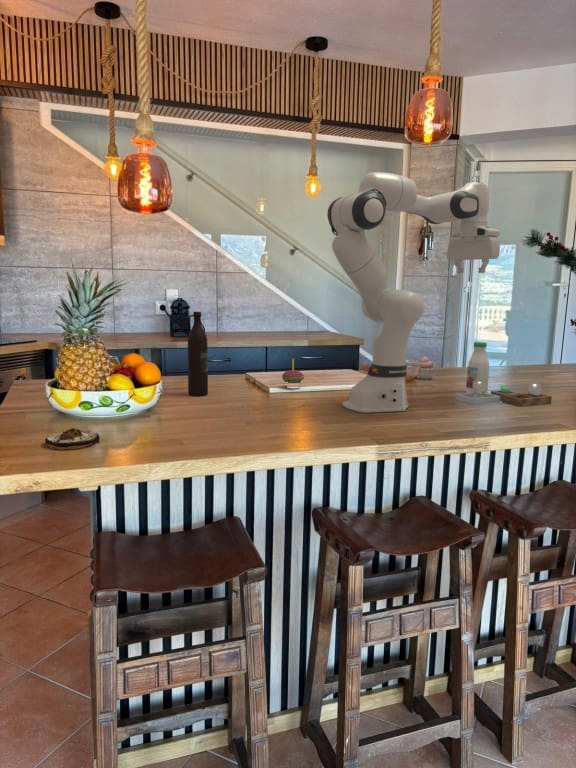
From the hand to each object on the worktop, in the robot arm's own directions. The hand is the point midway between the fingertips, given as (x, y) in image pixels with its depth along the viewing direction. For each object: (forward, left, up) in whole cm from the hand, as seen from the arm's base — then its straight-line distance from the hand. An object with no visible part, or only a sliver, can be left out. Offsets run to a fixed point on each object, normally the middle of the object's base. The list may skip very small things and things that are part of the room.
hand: (470, 273), depth 197 cm
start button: (+14, -7, -43) cm, 46 cm away
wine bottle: (-86, +42, -45) cm, 106 cm away
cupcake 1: (-48, +42, -45) cm, 78 cm away
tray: (+2, -6, -45) cm, 46 cm away
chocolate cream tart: (-133, -7, -46) cm, 141 cm away
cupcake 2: (+17, +42, -45) cm, 64 cm away
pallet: (+16, -15, -45) cm, 50 cm away
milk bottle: (+12, +5, -45) cm, 47 cm away
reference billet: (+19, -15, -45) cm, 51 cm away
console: (+14, -7, -45) cm, 48 cm away
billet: (+2, -6, -45) cm, 45 cm away
